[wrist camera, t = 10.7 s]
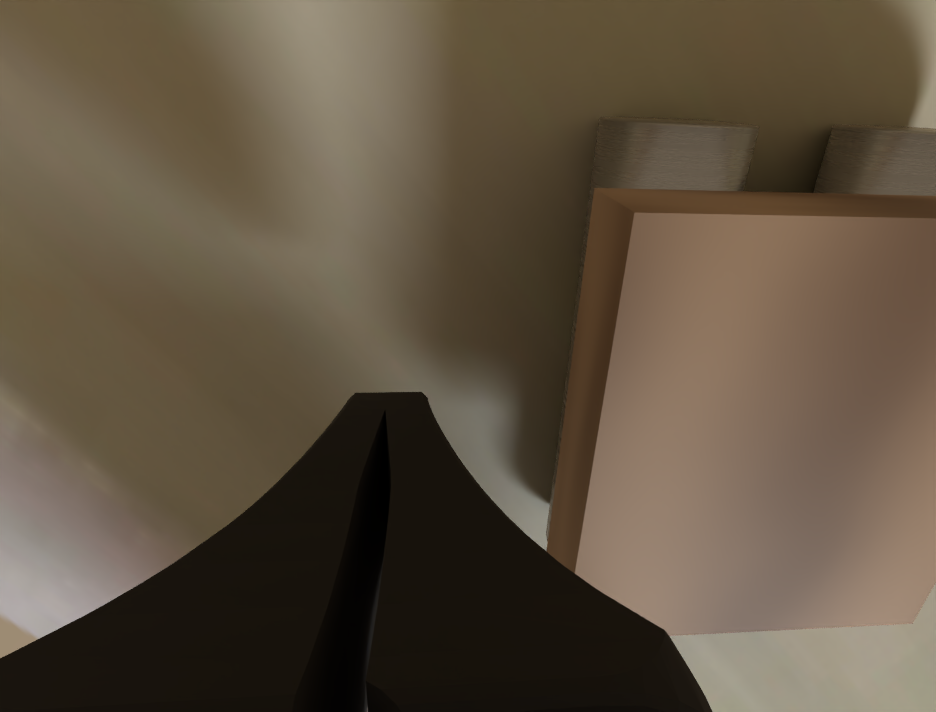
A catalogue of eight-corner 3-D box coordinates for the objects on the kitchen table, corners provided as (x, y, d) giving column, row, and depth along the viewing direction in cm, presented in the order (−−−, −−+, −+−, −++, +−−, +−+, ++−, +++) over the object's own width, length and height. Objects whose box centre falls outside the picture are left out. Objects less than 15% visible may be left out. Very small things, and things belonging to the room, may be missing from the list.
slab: (544, 567, 14) (563, 640, 12) (593, 187, 10) (634, 213, 8) (851, 555, 14) (912, 623, 13) (1014, 197, 10) (1138, 222, 9)
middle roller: (751, 487, 18) (849, 545, 16) (694, 522, 17) (794, 592, 15) (870, 124, 13) (1033, 135, 11) (806, 124, 12) (980, 139, 10)
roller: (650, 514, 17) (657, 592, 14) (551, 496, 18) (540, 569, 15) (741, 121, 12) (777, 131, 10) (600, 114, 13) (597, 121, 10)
